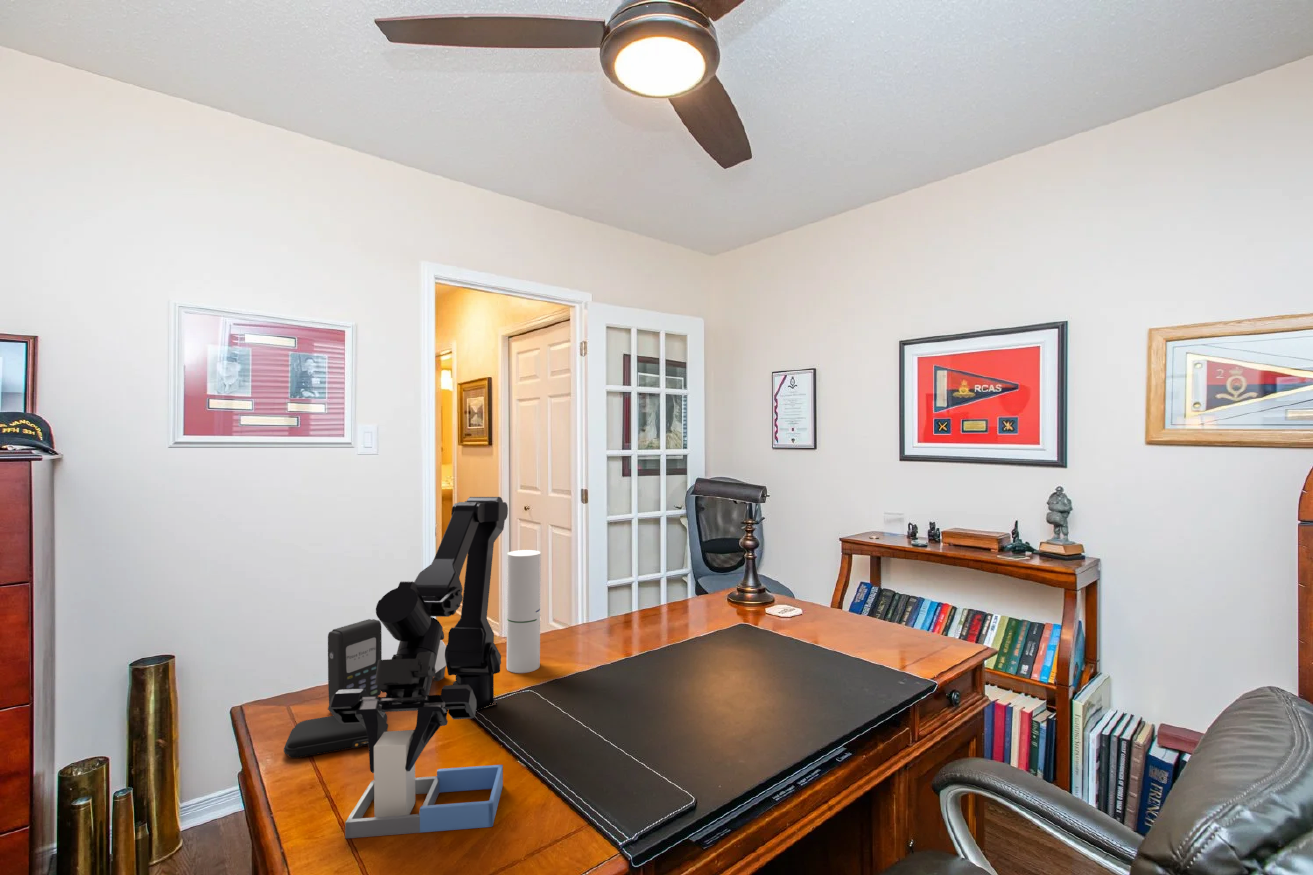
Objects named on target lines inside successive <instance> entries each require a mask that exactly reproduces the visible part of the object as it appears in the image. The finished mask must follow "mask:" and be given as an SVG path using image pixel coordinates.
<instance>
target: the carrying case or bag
mask: <svg viewBox="0 0 1313 875" xmlns="http://www.w3.org/2000/svg"><path fill="white" fill-rule="evenodd" d="M383 719H384V720H385V721H386V723H387V724H388V714H387V712H385V715H384V717H383ZM364 746H365V747H366V746H368V736H367V731H366V728H365V727H364V726H363V725H362V724H342V723H339V722H338V720H337V719H336V718H335V717H334V716H333V715H330V716H323V717H317V718H312V719H306V720H302V721H299V722H298V723H297V724H296V725H295V726H294V727H293V728H292V729H291V731H290V732H289V735H288V738H287V740H286V743H285V744H284V746H283V752H284V754H285V755H286V756H288V757H289V758H290V759H298V758H304V757H309V756H315V755H322V754H327V753H332V752H337V751H343V750H350V749H357V748H360V747H364Z"/></svg>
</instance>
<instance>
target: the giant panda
mask: <svg viewBox="0 0 1313 875" xmlns="http://www.w3.org/2000/svg"><path fill="white" fill-rule="evenodd" d="M446 646H447V645H446V644H445V642H444V641H443V640H440V644H439V649H438V654H437V659H436V664H435V670H436V673H435V677H433V678H432V681H434V682H439V681H441V680H442V679H444V678H445V673H446V672H445V671H446V669H447V666H446V661H445V649H446Z"/></svg>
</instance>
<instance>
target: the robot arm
mask: <svg viewBox="0 0 1313 875" xmlns="http://www.w3.org/2000/svg"><path fill="white" fill-rule="evenodd" d="M507 503H508V502H504V500H503V498H502V497H501V496H469V497H468V498H467V500H465V501H458V502H455V503H454V504H453V505H452V508H451V517H450V520H449V522H448V525H447V528H446V530H445V531H444V534H443V536H442V539H441V541H440V544H439V547H438V548H437V551H436V552H435V555H434V558H433V560H432V562H431V564H430V565H428V566H427V567H426V568H424V569H422V570H421V571H420V572H419V573H418V575H417V576H416V578H415V580H414V581H413V580H412V581H409V580H408V581H402V580H401V581H399V583H398V586H397V587H395V588H394V589H392V590H389V591H388V592H387V593H385V594H383V596H382V597H381V598H380V599H379V600H378V602H377V603H376V606H375V615H376V617H377V618H378V620H379V621H380V622H381V624H382V625H383V626H384V627H385V629H386V630H387V631H388V632H389V634H390V635H391V636H392V637H393V639H395V640H396V641H399V644H398V647H397V651H396V654H393V655H392V657H391V659H389V658H388V659H382V660H378V665H377V672H376V679H375V685H381V687H380V690H381V693H382V694H383V693H386V694H385V696H381V697H379V696H378V697H370V696H369V695H368V694H367V692H366V691H365V689H346V690H338V691H337V692H336V693H335V694H334V695H333V696H332V698H331V701H330V704H329V703H328V707H327V710H328V711H329V713H330V714H332V715H331V716H334V717H335V718H336V719H337V720H338V722H339V723H342V724H362V725H363V726H364V727H365V728H366V731H367V736H368V745H367V747H368V760H369V771H370V772H371V774H374V746H375V744H376V743H377V741H378V740H379V738H380V737H381V736H382V734H383V733H384V732H387V731H388V727H389V724H388V722H387V723H386V721H385V720H384V719H383V717H384V715H385V713H392V712H393V713H395V712H396V713H397V712H417V713H416V714H417V716H416V723H415V727H414V730H415V731H414V734H413V738H412V741H411V745H410V748H409V752H408V755H407V761H406V766H405V770H406V771H410V770H411V769H412V767H413V765H414V764H415V765H416V763H417V760H418V759H419V758H420V756H421V754H422V753H423V751H424V749H425V748H426V746H427V745H428V743H429V742H430V740H431V739H432V738H433V737H434V735H435V734H436V733H437V731H438V730H439V729H440V728H441V727H443V726H447V725H448V721H449V720H448V718H447V717H448V715H449V716H450V718H451V719H452V720H471V719H474V718H476V712H477V711H476V710H478V709H481V708H484V707H486V706H489V705H492V703H493V702H494V701H496V703H497V704H498V702H497V700H496V699H495V696H494V695H495V694H494V692H495V691H494V689H495V687H494V685H495V682H494V677H495V676H494V675H495V674H498V673H500V672H501V664H502V655H501V653H500V651H499V649H498V647H497V646H496V644H495V633H494V630H493V629H492V626H491V624H490V622H489V620H488V611H489V610H488V608H489V598H490V589H491V588H490V587H491V576H492V567H493V566H492V565H493V554H494V546H495V545H494V544H495V542H496V540H497V539H498V537H499V536H500V535H501V533H502V532H503V531H504V528H505V522H506V519H508V514H509V507H508V504H507ZM465 561H466V566H465V577H464V585H462V582H461V580H460V575H461V572H462V570H463V567H464V564H465ZM461 604H462V605H461ZM460 607H461V613H460V619H459V620H458V621H457V623H456V625H454V627H451V628H450V629H449V631H448V634H447V635H448V636H447V637H448V638H447V644H446V645H445V646H446V649H445V661H446V671H447V675H448V676H455V681H453V682H452V684H449V685H443V687H442V688H441V691H440V694H430V692H431V688H432V681H433V679H434V677H435V673H436V670H435V664H436V659H437V654H438V649H439V644H440V640H442V641H443V640H445V633H444V629H443V625H442V624H441V623H440V621H439V620H438V619H436V617H437V618H438V617H440V618H442V617H444V618H445V617H448V618H449V617H451V616H454V615H455V613H456V612H457V610H459V608H460ZM490 703H491V704H490ZM493 704H494V703H493ZM481 710H482V709H481ZM478 711H479V710H478Z"/></svg>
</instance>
